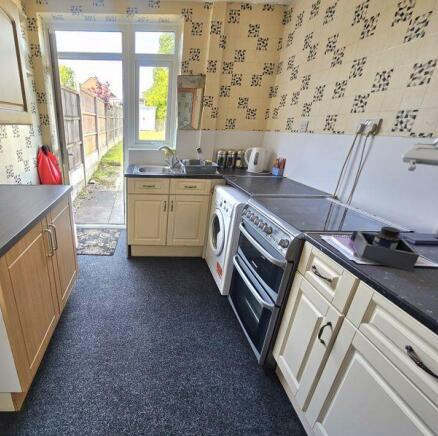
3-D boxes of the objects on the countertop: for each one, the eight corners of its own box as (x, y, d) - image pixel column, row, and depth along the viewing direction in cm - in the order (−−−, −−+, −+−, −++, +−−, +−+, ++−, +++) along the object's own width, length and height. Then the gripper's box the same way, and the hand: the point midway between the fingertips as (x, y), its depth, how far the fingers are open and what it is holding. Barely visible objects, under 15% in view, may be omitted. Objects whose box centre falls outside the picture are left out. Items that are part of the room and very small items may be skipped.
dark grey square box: (396, 255, 93) (404, 239, 90) (410, 273, 82) (419, 255, 79) (352, 246, 99) (358, 231, 96) (359, 262, 88) (366, 244, 85)
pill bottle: (364, 253, 92) (374, 226, 88) (376, 251, 93) (387, 224, 89) (382, 261, 87) (394, 233, 83) (395, 259, 88) (407, 231, 84)
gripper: (412, 137, 102) (392, 162, 102) (491, 141, 85) (466, 171, 85) (413, 148, 106) (393, 172, 106) (488, 154, 89) (465, 182, 88)
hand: (426, 172), depth 95 cm, fingers open, 8 cm apart
